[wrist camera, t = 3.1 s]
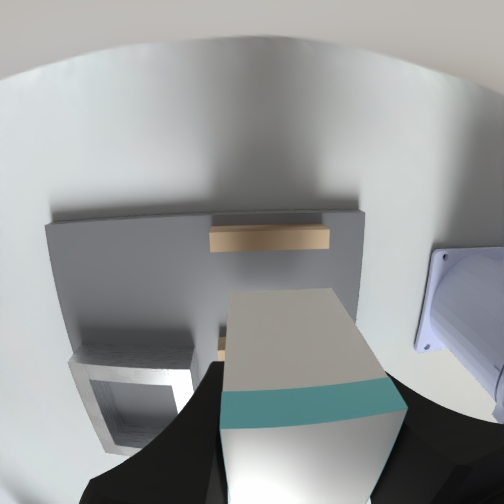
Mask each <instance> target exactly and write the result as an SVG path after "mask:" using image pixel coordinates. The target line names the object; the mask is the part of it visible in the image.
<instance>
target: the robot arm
mask: <svg viewBox="0 0 504 504" xmlns="http://www.w3.org/2000/svg"><path fill="white" fill-rule="evenodd" d="M444 254H445V258H444V259H443V255H444ZM426 345H427V346H426ZM425 346H426V347H425ZM445 348H447V349H448V350H449V351H450V352H451V353H452V354H453V355H454V356H455V357H456V358H457V359H458V360H459V361H460V362H461V364H462V365H463V366H464V367H465V368H466V369H467V370H468V371H469V372H470V373H471V374H472V376H473V377H474V378H475V379H476V380H477V381H478V382H479V383H480V384H481V386H482V387H483V388H484V389H485V390H486V391H487V392H488V394H489V395H490V396H491V397H492V398H493V399H494V400H495V402H496V407H495V409H494V411H493V413H492V415H493V417H494V418H495V419H496V420H497V422H498V423H493V422H488V421H484V420H480V419H476V418H473V417H469V416H466V415H463V414H460V413H458V412H455V411H453V410H450V409H448V408H445V407H443V406H441V405H439V404H437V403H435V402H433V401H431V400H429V399H427V398H425V397H423V396H421V395H420V394H418V393H416V392H415V391H413V390H412V389H410V388H408V387H407V386H405V385H404V384H402V383H401V382H399V381H398V380H397V379H395V378H394V377H392V376H391V375H390V374H388V373H387V372H386V371H385V373H386V374H387V376H388V377H390V378H391V380H392V382H393V383H394V385H395V387H396V388H397V390H398V392H399V393H400V395H401V397H402V398H403V400H404V402H405V403H406V405H407V407H408V409H407V412H406V415H405V418H404V420H403V423H402V426H401V428H400V431H399V433H398V436H397V438H396V441H395V443H394V446H393V448H392V450H391V453H390V455H389V457H388V460H387V462H386V464H385V466H384V468H383V471H382V473H381V475H380V477H379V479H378V481H377V483H376V485H375V487H374V489H373V491H372V493H371V495H370V500H371V504H504V247H477V248H449V249H436V250H435V251H434V252H433V253H432V257H431V264H430V271H429V277H428V283H427V289H426V295H425V300H424V305H423V310H422V315H421V320H420V325H419V329H418V334H417V338H416V342H415V346H414V349H415V351H416V352H417V353H424V352H430V351H435V350H440V349H445ZM224 362H225V361H213V362H212V363H210V365H209V367H208V370H207V372H206V373H205V375H204V377H203V379H202V381H201V382H200V384H199V386H198V387H197V389H196V390H195V392H194V393H193V395H192V396H191V398H190V399H189V401H188V402H187V403H186V404H185V406H184V407H183V408H182V410H181V411H180V412H179V414H178V415H177V416H176V417H175V418H174V419H173V421H172V422H171V423H170V424H169V425H168V426H167V427H166V428H165V429H164V430H163V431H162V432H161V433H160V434H159V435H158V436H157V437H155V438H154V439H153V440H152V441H151V442H150V443H149V444H148V445H146V446H145V447H144V448H143V449H141V450H140V451H139V452H137V453H136V454H134V455H133V456H131V457H130V458H129V459H127V460H126V461H124V462H123V463H121V464H120V465H118V466H116V467H114V468H113V469H111V470H109V471H107V472H105V473H103V474H101V475H99V476H97V477H95V478H93V479H91V480H90V481H89V483H88V485H87V487H86V488H85V490H84V492H83V494H82V497H81V499H80V502H79V504H228V484H227V478H226V471H225V464H224V457H223V450H222V443H221V436H220V413H221V396H222V391H223V379H224Z"/></svg>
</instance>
